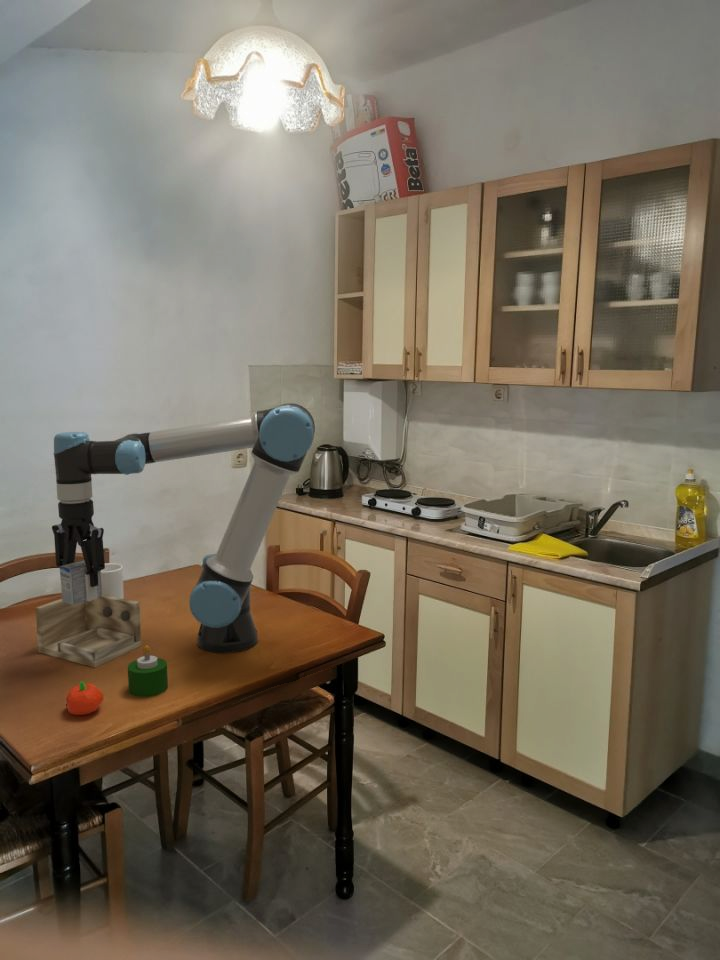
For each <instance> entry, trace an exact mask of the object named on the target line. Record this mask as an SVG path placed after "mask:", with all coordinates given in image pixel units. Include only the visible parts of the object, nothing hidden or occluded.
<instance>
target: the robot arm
mask: <svg viewBox="0 0 720 960" xmlns="http://www.w3.org/2000/svg"><path fill="white" fill-rule="evenodd" d="M315 426H316V425H315V420H314V417H313V416H312V414H311V413H310V412H309V410H308V409H307V408H305V407H304V406H302V405H300V404H297V403H291V402H290V403H283V404H280V405H278V406H276V407H275V406H274V407H272V408H268V409H263V410H258V411H254V413H253V415H252V416H247V417H246V416H245V417H239V418H234V419H227V420H220V421H214V422H207V423H201V424H200V423H199V424H194V425H188V426H187V425H186V426H180V427H174V428H168V429H161V430H155V431H150V432H143V433H131V434H130V433H129V434H127V435H125V436H123V437H120V438H118V439H115V440H105V441H104V440H103V441H99V440H98V441H96V440H90V437H89V434H88V432H84V431H68V432H65V431H64V432H61V433H56V434H55V435H54V437H53V457H54V469H55V478H56V480H55V482H56V496H57V497H56V498H57V500H58V501H59V502H58V503H57V507H58V508H57V509H58V517H59V519H60V520H61V523H58V524H54V525H51V530H52V532H53V536H54V555H55V566H56V567H58V568H60V566H63V565H67V564H71V563H74V562H76V561H75V559H76V552H77V545H78V546H80V549H81V553H82V557H83V560H84V561H85V564H86V568H87V572H86V573H85V584H86V598H87V601H92V600H94V599H97V598H98V594H97V586H98V571H100V570H103V569H105V552H104V542H103V540H104V539H103V537H104V532H105V531H104V528H103V527H100V528H98V527H97V526H95V525H94V522H93V519H92V518H93V516H94V513H95V509H94V501H93V500H92V499H91V498H93V486H92V485H93V483H92V480H93V479H92V475H125V476H127V475H131V474H140V473H142V472H143V471H144V469H145V466H146V465H148V464H154V463H155V464H156V463H159V462H166V461H173V460H174V461H175V460H180V459H186V458H195V457H199V456H207V455H215V454H219V453H220V454H221V453H228V452H233V451H234V452H235V451H240V450H248V449H252V450H251V452H250V454H251V456H252V458H253V465H252V468H251V470H250V472H249V474H248V477H247V479H246V481H245V484H244V487H243V489H242V492H241V494H240V497H239V499H238V501H237V503H236V506H235V507H234V508H235V509H234V511H233V513H232V515H231V518H230V520H229V523H228V524H227V528H226V529H225V532H224V534H223V537H222V540H221V542H220V544H219V547H218V549H217V551H216V553H210V554H207V555H205V556H204V557H203V559H202V564H201V567H202V570H201V572H200V575H199V578H198V580H197V582H196V585H195V586H194V588H193V589H192V591H191V592H190V595H189V602H188V603H189V605H188V606H189V610H190V612H191V614H192V616H193V618H195V620H196V622H197V621H198V623H200V627H199V629H198V630H199V631H198V633H197V640H196V641H197V646H198V647H199V649H202V650H203V651H206V652H209V653H210V652H211V653H217V654H223V653H224V654H229V653H230V654H232V653H237V652H242V651H247V650H248V649H250V648H253V647H254V646H255V645H256V644H258V630H257V628H256V625H255V623H254V619H253V616H252V613H251V585H252V582H253V579H254V575H253V573H252V569H251V568H252V566H253V563H254V562H255V558H256V556H257V554H258V552H259V549H260V547H261V545H262V543H263V539H265V538H264V537H265V534H266V532H267V531H268V528H269V525H270V524H271V521H272V519H273V516H274V514H275V512H276V509H277V507H278V505H279V503H280V500H281V497H282V495H283V493H284V491H285V488H286V486H287V483H288V481H289V479H290V478H291V476H294V475H295V474H296V475H297V474H298V473H300V470H301V467H302V465H303V463H304V460H305V458H306V456H307V453H308V451H309V450H310V448H312V447H311V446H312V445H313V443H314V442H313V441H314V438H315V433H316V431H315V430H316V427H315ZM92 566H93V568H92Z"/></svg>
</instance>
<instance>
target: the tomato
mask: <svg viewBox="0 0 720 960" xmlns="http://www.w3.org/2000/svg"><path fill="white" fill-rule="evenodd" d="M65 699H66V703H65V707H66V708H67V711H68V712H69V714H71V715H74V716H83V715H88V714H92V713H94V712H95V711H97V709H98V708H99V707H100V705H102V703H103V701H104V694H103V692H102V691H101V690H100V689H99V688H98V687H97V686H96V685H94V684H92V683H84V681H82V680H81V681H80V683H79V685H75V686H74V687H72V688H70V689H69V690H68V692H67V695H66V698H65Z"/></svg>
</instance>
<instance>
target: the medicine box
mask: <svg viewBox="0 0 720 960" xmlns="http://www.w3.org/2000/svg"><path fill="white" fill-rule="evenodd" d="M92 568H93V566H92ZM86 572H87V568H86V564H85V561H84V559H83V560H79V561H74V563H71V564H67V565H63V566H60V567H59V575H60V576H59V577H60V586H61V587H60V589H61V599H62V601H63V602H65V603H67V604H70V605H75V604H78V603H81V602H84V601H87V598H86V584H85V573H86ZM97 594H98V597H100V596H102V585H101V570H100V571H98V586H97Z"/></svg>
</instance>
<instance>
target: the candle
mask: <svg viewBox="0 0 720 960" xmlns="http://www.w3.org/2000/svg"><path fill="white" fill-rule="evenodd" d="M142 651H143V654H144V655H143V656H140V657H139V658H137V659H135V660H133V661H131V662H130V663H129V664H128V665H127V686H128V692H129V694H130V695H131V696H133V697H139V698H149V697H150V698H151V697H154V696H158V695H160V694H163V693H165V692H166V691H167V689H168V688H169V687H168V685H169V684H168V679H169V678H168V661H167V660H165V659H163V658H160V657H157V656H155V655H151V648H150V645H145V646H144V648H143V650H142Z"/></svg>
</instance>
